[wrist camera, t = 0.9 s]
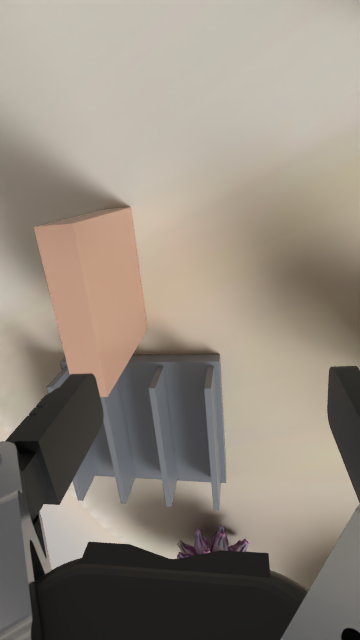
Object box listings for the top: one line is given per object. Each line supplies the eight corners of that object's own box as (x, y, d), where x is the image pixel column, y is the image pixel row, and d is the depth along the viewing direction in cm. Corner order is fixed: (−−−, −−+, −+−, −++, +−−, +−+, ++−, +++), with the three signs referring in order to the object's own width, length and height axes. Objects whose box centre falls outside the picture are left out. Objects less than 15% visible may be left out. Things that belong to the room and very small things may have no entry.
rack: (66, 355, 38) (40, 382, 33) (219, 354, 35) (216, 384, 30) (93, 465, 44) (74, 503, 39) (226, 473, 41) (224, 514, 36)
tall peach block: (104, 209, 31) (33, 226, 20) (131, 207, 31) (72, 223, 20) (124, 329, 36) (74, 396, 25) (147, 328, 35) (107, 397, 24)
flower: (281, 527, 43) (295, 646, 32) (235, 576, 48) (234, 692, 37) (199, 488, 43) (185, 595, 32) (161, 541, 48) (138, 649, 37)
